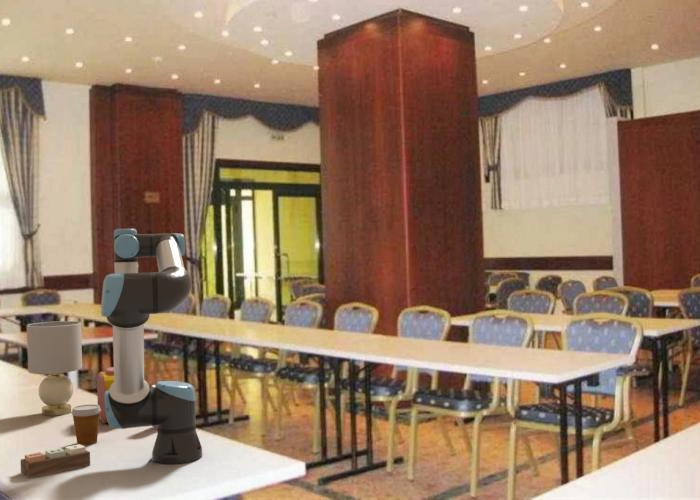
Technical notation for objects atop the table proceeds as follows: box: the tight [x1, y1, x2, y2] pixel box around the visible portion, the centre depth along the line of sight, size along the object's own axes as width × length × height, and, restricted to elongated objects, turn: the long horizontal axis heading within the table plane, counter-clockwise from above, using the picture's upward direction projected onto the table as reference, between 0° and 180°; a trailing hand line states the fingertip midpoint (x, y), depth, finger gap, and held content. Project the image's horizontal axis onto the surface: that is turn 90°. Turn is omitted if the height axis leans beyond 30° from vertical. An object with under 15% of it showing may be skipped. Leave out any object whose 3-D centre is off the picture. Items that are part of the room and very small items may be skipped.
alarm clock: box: [96, 366, 114, 424], centre depth 297 cm, size 18×11×19 cm, turn 22°
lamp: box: [26, 320, 83, 417], centre depth 311 cm, size 20×20×35 cm
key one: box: [64, 444, 87, 455], centre depth 238 cm, size 4×4×5 cm
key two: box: [44, 447, 66, 459], centre depth 234 cm, size 4×4×5 cm
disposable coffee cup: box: [71, 403, 101, 446], centre depth 264 cm, size 10×10×12 cm
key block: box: [20, 449, 91, 479], centre depth 234 cm, size 7×18×4 cm, turn 131°
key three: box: [24, 451, 46, 463], centre depth 231 cm, size 4×4×5 cm
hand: (128, 345), depth 263 cm, fingers closed
